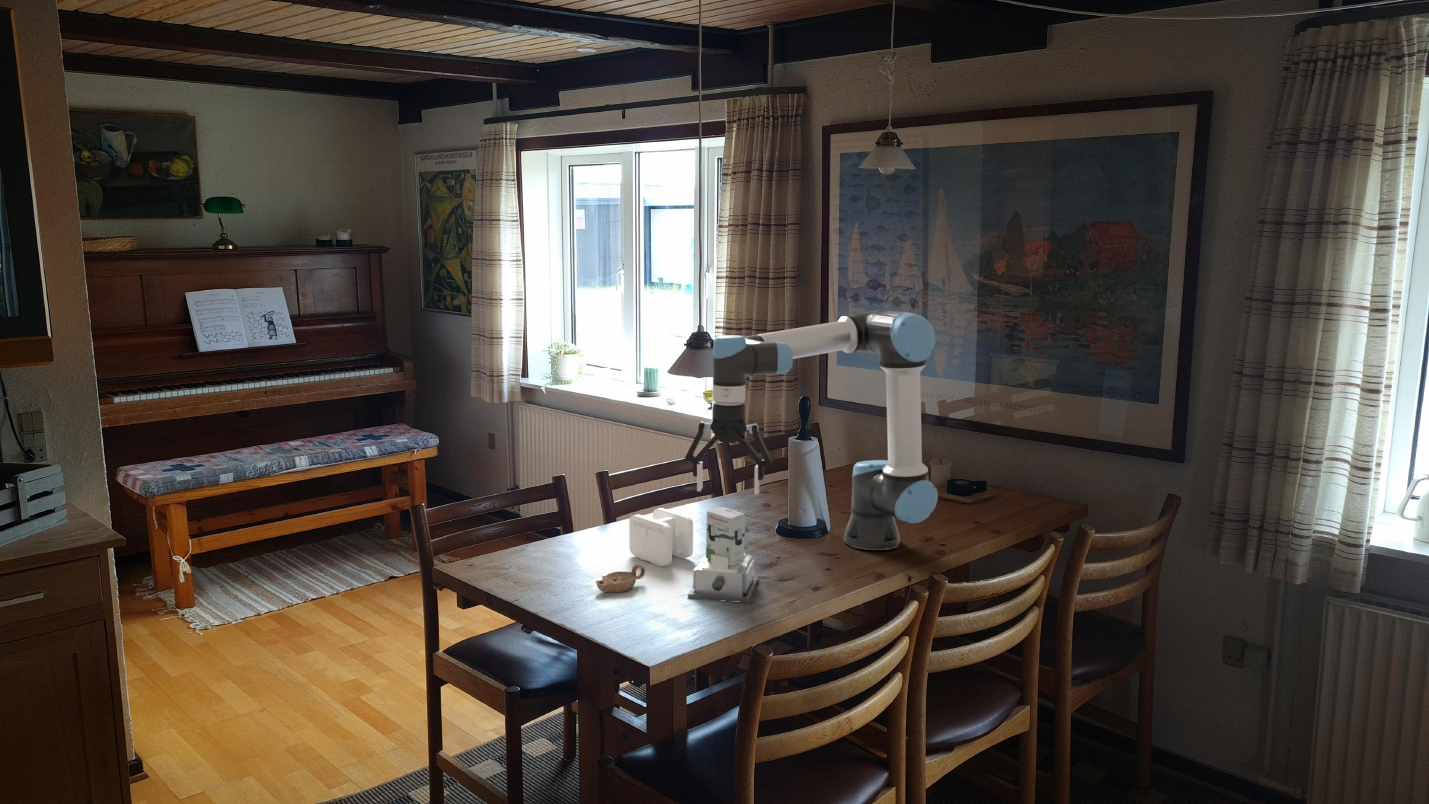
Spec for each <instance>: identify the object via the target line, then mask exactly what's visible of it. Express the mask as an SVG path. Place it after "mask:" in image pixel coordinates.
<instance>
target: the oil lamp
mask: <svg viewBox="0 0 1429 804" xmlns="http://www.w3.org/2000/svg"><path fill="white" fill-rule="evenodd" d="M638 569H640V573H639V574H638V575H637V571H638ZM645 574H646V568H645V567H644V565H642V564H639V563H638V564H635V565H634V566H633V567H632V569H631V571H613V572H610V573H608V574H606V575H602V577H601V578H602V579H600V580H596V581H595V583H596V587H597V588H598V590H599V591H601V592H603V593H622V592H627V591H629V590H631V589H632V588H633V587H634V586H635V584H636V580H640V579H643V577H644V576H645Z"/></svg>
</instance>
